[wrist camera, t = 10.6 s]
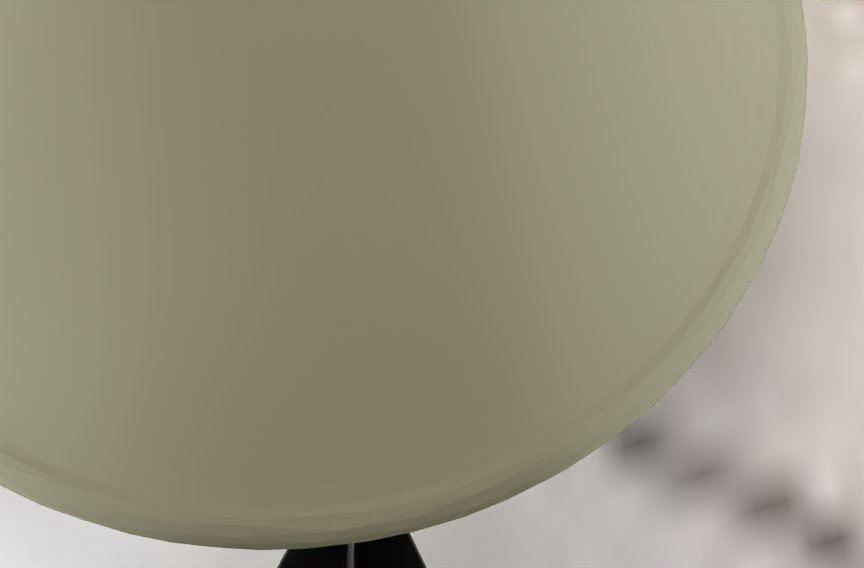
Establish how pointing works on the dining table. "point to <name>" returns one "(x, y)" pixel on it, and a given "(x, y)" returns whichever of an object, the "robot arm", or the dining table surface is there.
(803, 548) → the dining table surface
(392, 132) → the can
